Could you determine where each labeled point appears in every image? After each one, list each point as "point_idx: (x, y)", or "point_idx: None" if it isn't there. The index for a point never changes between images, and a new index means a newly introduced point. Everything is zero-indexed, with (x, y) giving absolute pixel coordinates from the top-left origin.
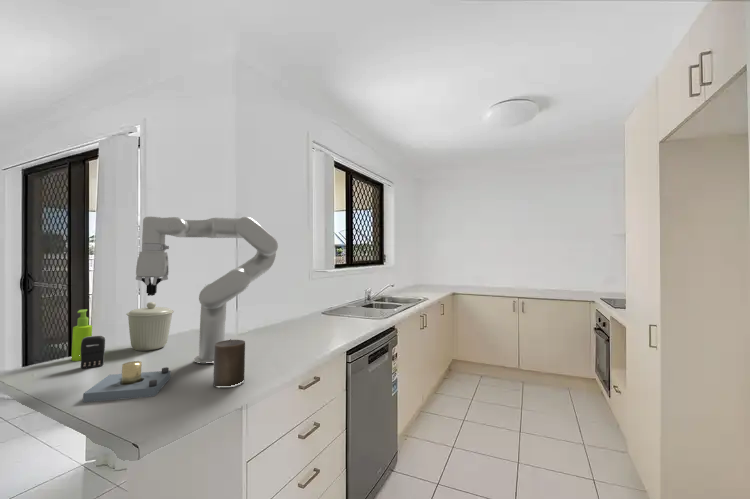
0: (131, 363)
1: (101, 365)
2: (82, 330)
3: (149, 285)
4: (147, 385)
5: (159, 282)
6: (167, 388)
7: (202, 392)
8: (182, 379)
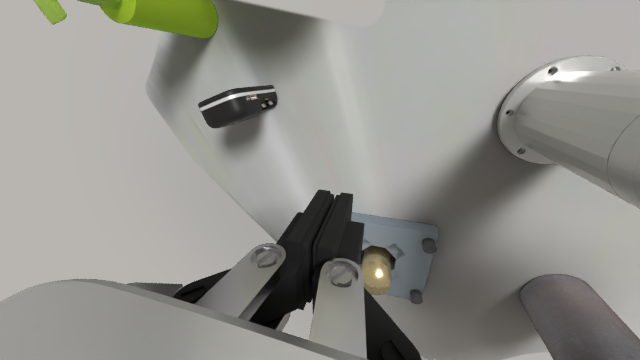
0: (373, 282)
1: (276, 103)
2: (139, 22)
3: (303, 308)
4: (407, 289)
5: (381, 307)
6: (435, 271)
7: (494, 309)
8: (460, 242)
